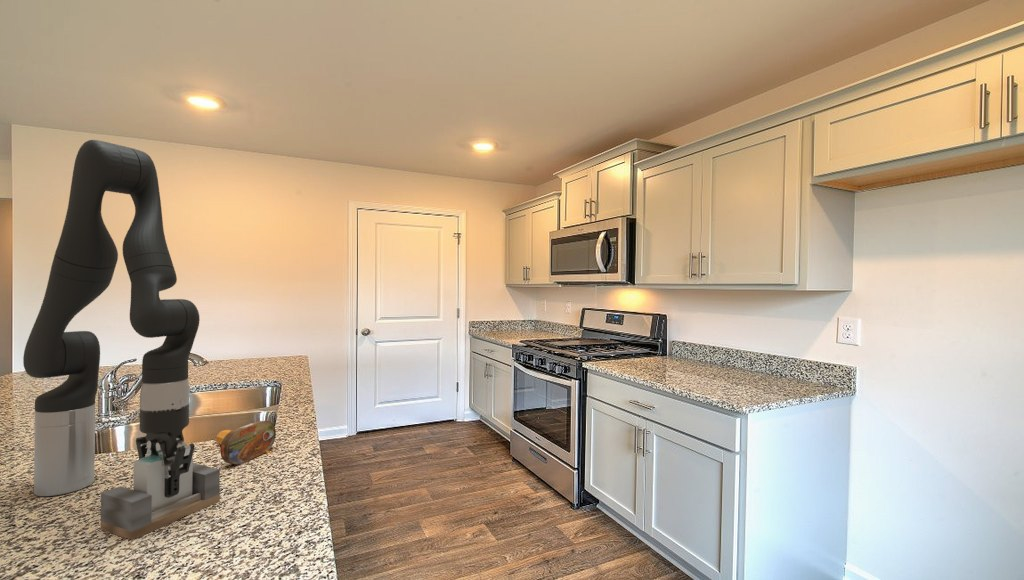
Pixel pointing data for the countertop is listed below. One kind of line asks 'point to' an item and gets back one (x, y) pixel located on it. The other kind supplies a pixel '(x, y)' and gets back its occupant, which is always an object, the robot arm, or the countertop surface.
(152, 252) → the robot arm
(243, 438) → the tin
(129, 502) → the rack
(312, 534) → the countertop surface
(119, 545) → the countertop surface
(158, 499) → the block
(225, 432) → the orange rounded piece
